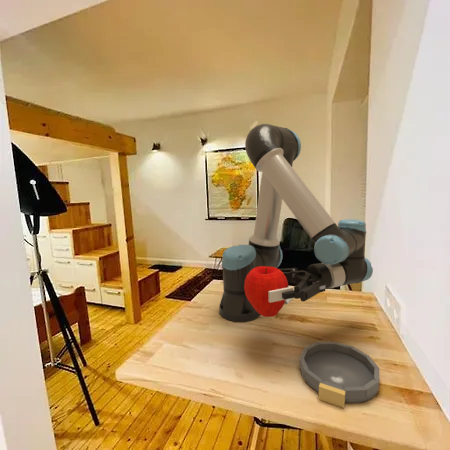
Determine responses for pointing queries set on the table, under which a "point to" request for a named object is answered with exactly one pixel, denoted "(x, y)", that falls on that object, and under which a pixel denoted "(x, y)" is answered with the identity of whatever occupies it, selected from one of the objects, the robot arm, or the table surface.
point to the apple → (264, 289)
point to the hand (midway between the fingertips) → (257, 287)
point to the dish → (339, 373)
